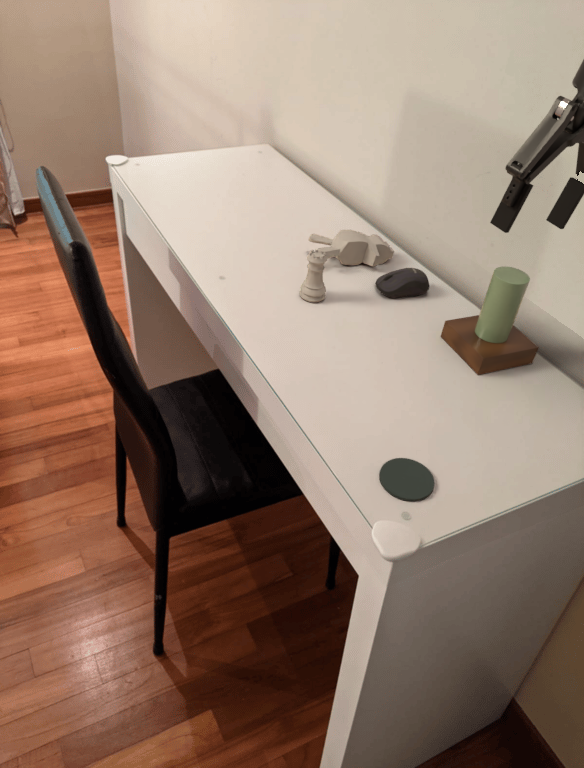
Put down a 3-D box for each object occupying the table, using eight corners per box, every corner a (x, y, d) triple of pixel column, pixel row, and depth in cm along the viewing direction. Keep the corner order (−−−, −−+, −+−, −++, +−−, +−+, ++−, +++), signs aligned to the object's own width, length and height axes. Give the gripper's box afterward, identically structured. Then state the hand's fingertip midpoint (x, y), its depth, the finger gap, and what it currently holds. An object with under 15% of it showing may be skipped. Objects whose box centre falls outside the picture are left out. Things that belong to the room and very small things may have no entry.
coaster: (444, 493, 70) (445, 491, 70) (396, 507, 68) (396, 505, 68) (415, 455, 75) (416, 452, 74) (369, 466, 73) (370, 464, 72)
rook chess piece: (293, 293, 102) (297, 250, 97) (314, 287, 104) (319, 244, 99) (310, 306, 99) (315, 262, 94) (331, 299, 101) (337, 255, 96)
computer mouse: (370, 283, 106) (374, 263, 104) (419, 280, 109) (424, 260, 106) (382, 300, 102) (386, 279, 100) (432, 297, 104) (438, 276, 102)
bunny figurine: (403, 250, 108) (324, 245, 104) (394, 276, 111) (317, 271, 107) (383, 227, 115) (309, 220, 110) (376, 251, 118) (303, 246, 114)
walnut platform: (532, 363, 92) (539, 347, 90) (477, 375, 88) (483, 358, 86) (492, 327, 99) (497, 311, 97) (440, 336, 95) (445, 320, 93)
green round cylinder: (514, 340, 91) (537, 281, 84) (487, 345, 89) (508, 286, 83) (494, 322, 94) (515, 264, 88) (467, 327, 93) (486, 268, 86)
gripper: (639, 64, 81) (555, 211, 94) (535, 35, 66) (452, 214, 79) (690, 84, 77) (595, 235, 90) (591, 59, 62) (494, 244, 75)
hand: (528, 226), depth 84 cm, fingers open, 13 cm apart
